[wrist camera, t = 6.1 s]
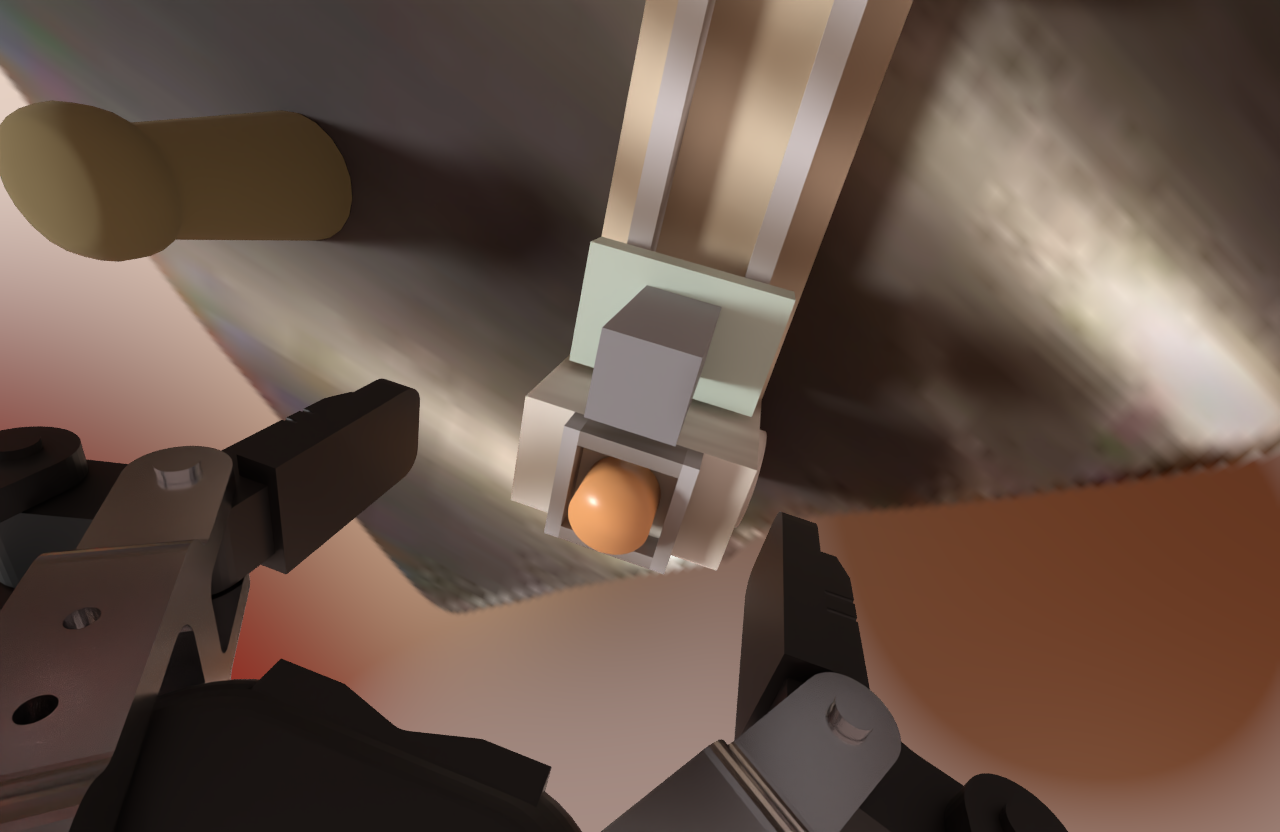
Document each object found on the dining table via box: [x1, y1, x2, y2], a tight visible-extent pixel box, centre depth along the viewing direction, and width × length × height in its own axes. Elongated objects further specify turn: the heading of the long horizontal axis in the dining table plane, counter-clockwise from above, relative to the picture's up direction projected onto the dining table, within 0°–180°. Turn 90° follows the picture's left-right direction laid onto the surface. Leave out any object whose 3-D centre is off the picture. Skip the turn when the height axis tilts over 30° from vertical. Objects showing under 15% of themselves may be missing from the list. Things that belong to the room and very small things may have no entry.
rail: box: [511, 0, 913, 574], centre depth 19 cm, size 25×10×9 cm, turn 166°
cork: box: [0, 101, 352, 261], centre depth 22 cm, size 6×6×11 cm
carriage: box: [569, 237, 796, 446], centre depth 19 cm, size 5×8×8 cm, turn 76°
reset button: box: [568, 456, 661, 555], centre depth 20 cm, size 3×3×2 cm
